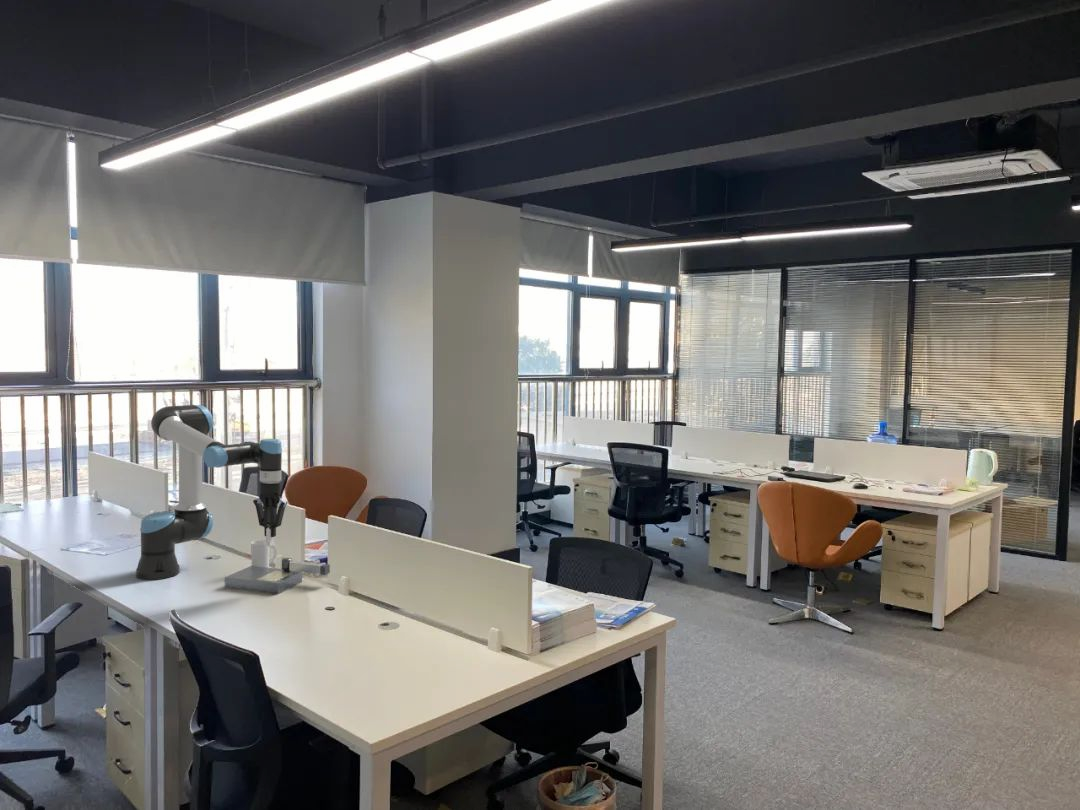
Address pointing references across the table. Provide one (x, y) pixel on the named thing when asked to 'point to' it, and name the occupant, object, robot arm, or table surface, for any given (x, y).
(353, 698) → the table surface
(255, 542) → the mug
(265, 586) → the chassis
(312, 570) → the cable arm
